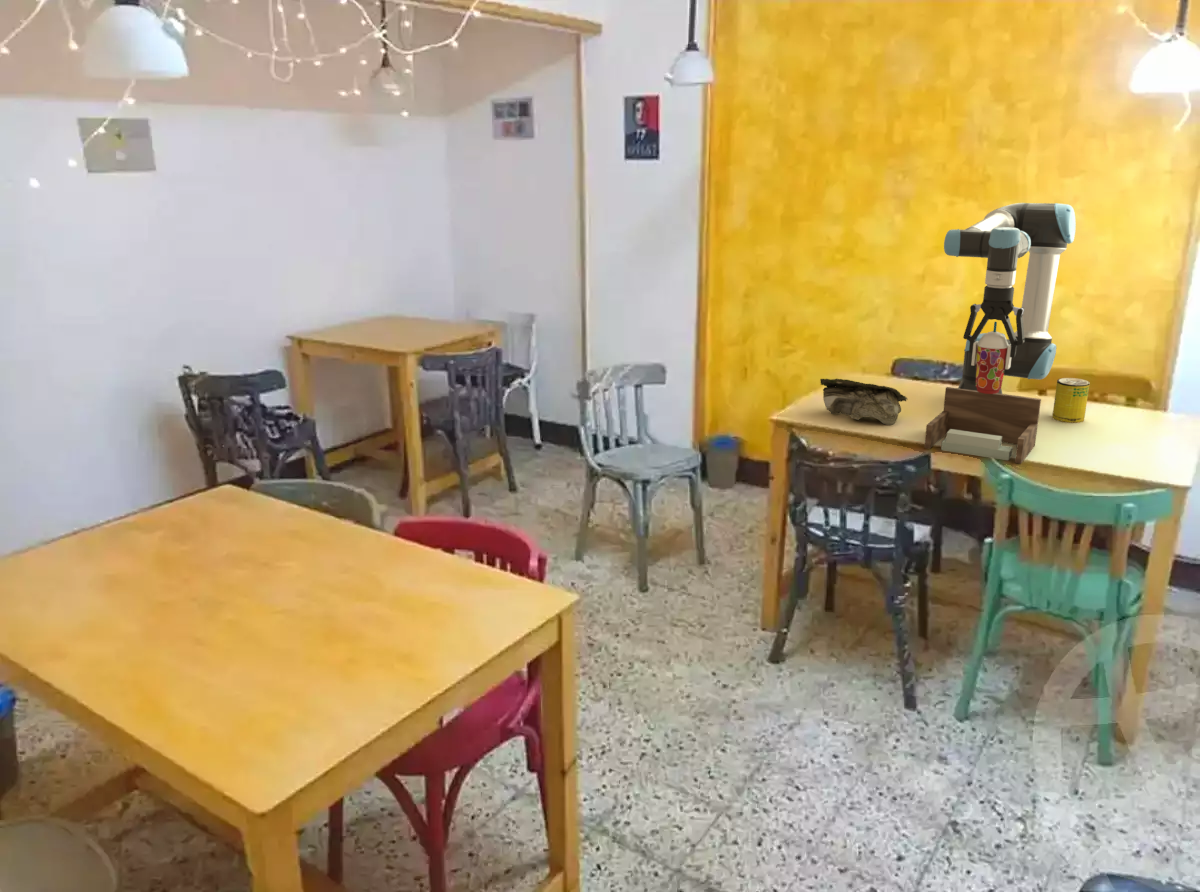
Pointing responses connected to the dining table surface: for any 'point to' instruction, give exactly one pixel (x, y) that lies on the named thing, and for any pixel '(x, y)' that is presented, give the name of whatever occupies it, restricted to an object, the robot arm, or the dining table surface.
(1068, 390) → the beverage can
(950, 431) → the offcut stack
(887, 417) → the hollow geode rock
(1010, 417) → the walnut rack
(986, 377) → the smoothie
